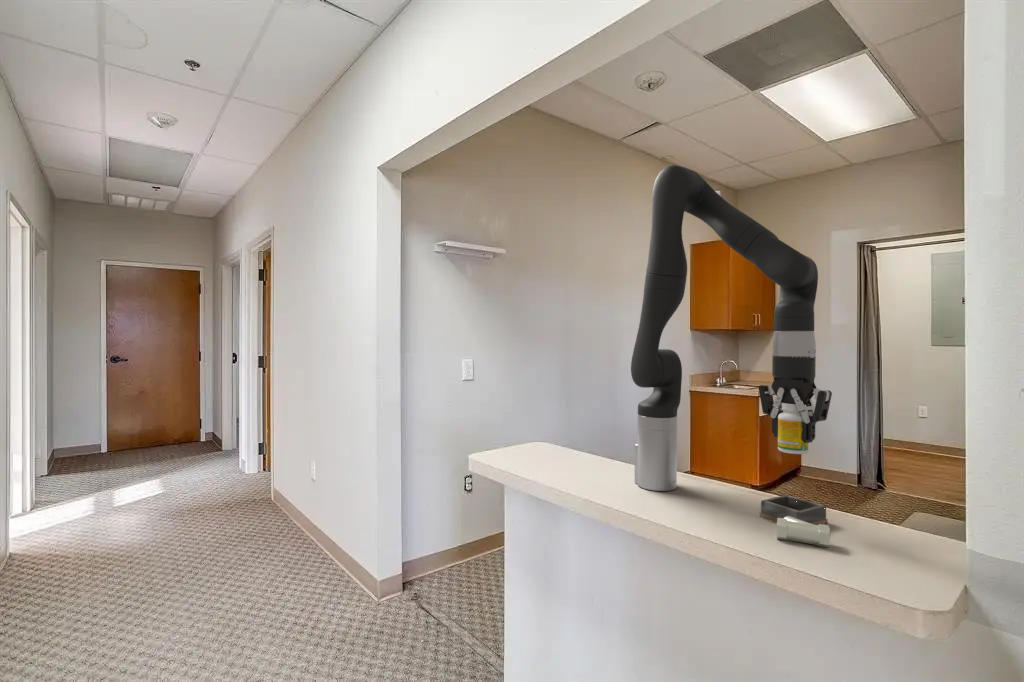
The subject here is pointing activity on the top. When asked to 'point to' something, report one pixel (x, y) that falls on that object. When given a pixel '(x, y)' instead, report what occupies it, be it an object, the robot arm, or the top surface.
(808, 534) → the pipe fitting
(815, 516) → the square holder
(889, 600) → the top surface
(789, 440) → the supplement bottle
